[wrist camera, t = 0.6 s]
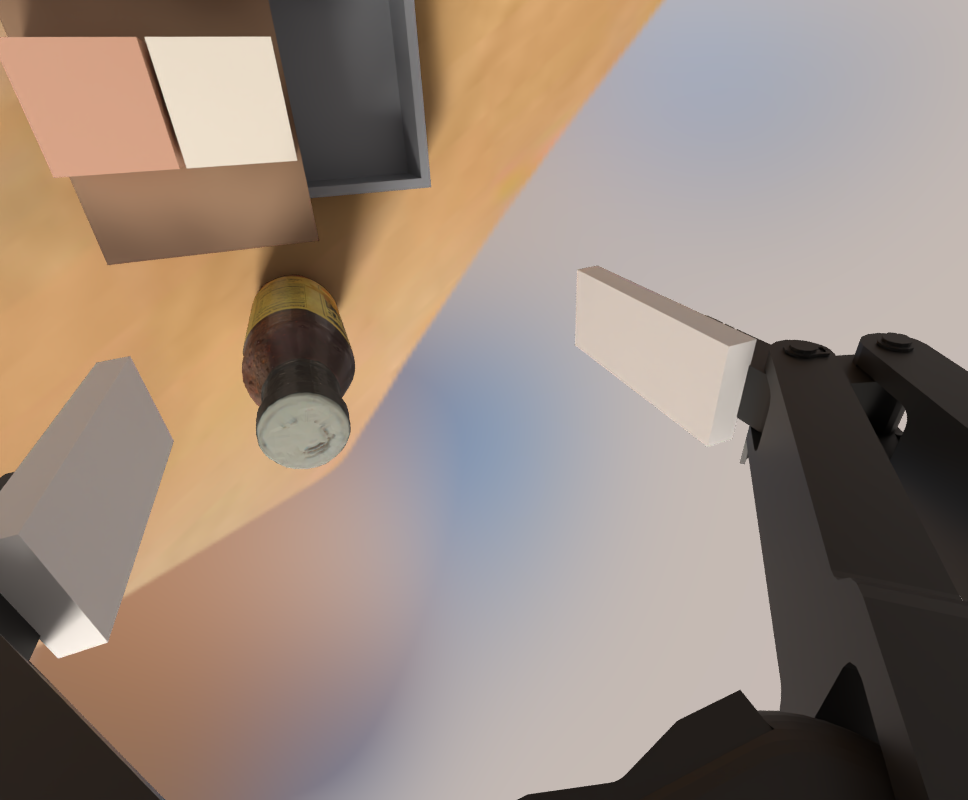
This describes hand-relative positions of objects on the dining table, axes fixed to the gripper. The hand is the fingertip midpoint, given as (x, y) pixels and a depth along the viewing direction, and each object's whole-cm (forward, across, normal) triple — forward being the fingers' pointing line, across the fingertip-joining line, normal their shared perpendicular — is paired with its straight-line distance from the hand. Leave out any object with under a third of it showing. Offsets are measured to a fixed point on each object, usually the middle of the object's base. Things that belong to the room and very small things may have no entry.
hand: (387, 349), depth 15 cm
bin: (+26, +1, +8) cm, 27 cm away
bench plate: (+26, -6, +7) cm, 27 cm away
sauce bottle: (+26, -4, -6) cm, 27 cm away
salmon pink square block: (+18, -9, +7) cm, 21 cm away
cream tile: (+18, -4, +7) cm, 19 cm away
